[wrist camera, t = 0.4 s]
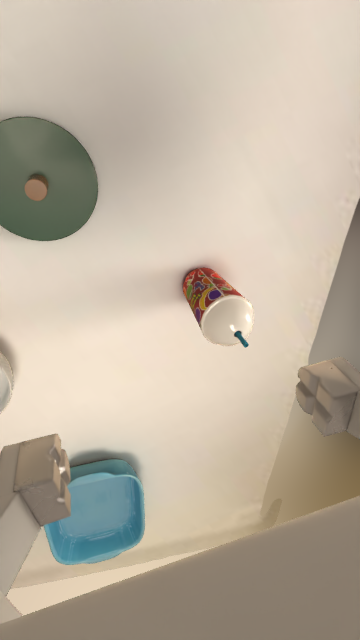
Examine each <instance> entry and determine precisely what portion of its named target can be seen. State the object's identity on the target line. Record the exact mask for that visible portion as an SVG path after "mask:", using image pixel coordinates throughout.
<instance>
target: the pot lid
mask: <svg viewBox="0 0 360 640" xmlns="http://www.w3.org/2000/svg"><path fill="white" fill-rule="evenodd" d="M97 194H98V183H97V176H96V172H95V169H94V166H93V164H92V161H91V159H90V157H89V155H88V154H87V152H86V150H85V149H84V148H83V146H82V145H81V144H80V143H79V142H78V140H77V139H76V138H75V137H73V136H72V135H71V134H70V133H69V132H67V131H66V130H65V129H63V128H62V127H60V126H58V125H56V124H54V123H52V122H49V121H47V120H44V119H40V118H35V117H16V118H10V119H7V120H4V121H2V122H0V225H1V226H2V227H4V228H5V229H7V230H8V231H10V232H12V233H14V234H16V235H18V236H21V237H24V238H27V239H31V240H37V241H52V240H58V239H62V238H64V237H67V236H69V235H71V234H73V233H75V232H76V231H77V230H79V229H80V228H81V227H82V226H83V225H84V224H85V223H86V222H87V221H88V219H89V218H90V216H91V214H92V212H93V210H94V208H95V204H96V201H97Z"/></svg>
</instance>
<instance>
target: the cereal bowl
mask: <svg viewBox="0 0 360 640" xmlns="http://www.w3.org/2000/svg"><path fill="white" fill-rule="evenodd" d="M13 382H14V381H13V373H12V369H11V367H10V364H9V362H8V360H7V359H6V358H5V356H4V355H3V354H2V353H1V352H0V414H1V413H2V412H3V411H4V410H5V408H6V407H7V405H8V403H9V401H10V399H11V395H12V390H13Z"/></svg>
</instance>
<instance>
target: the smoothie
mask: <svg viewBox="0 0 360 640" xmlns="http://www.w3.org/2000/svg"><path fill="white" fill-rule="evenodd" d="M183 292H184V295H185V297H186V299H187V301H188V303H189V305H190V307H191V309H192V311H193V314H194V316H195V318H196V320H197V322H198V324H199V326H200V328H201V330H202V333H203V336H204V337H205V338H206V339H207V340H208V341H210V342H212V343H214V344H219V345H224V346H232V345H236V344H238V343H242V344H243V346H244V347H248V343H247V342H246V340H245V339H246V338H247V337H248V335H249V334H250V332H251V330H252V327H253V321H254V310H253V306H252V305H251V303H250V302H249V301H248V300H247V299H245V298H244V297H243V296H242V295H241V294H240V293H238V292H237V291H236V290H235V289H234V288H233V287H232V286H231V285H229V284H228V283H227V282H226V281H225V280H224V279H223V278H221V277H220V276H219V275H218V274H217V273H216V272H215V271H213V270H211V269H209V268H199V269H195V270H193V271H191V272H190V273H189V274H188V275H187V277H186V279H185V281H184V284H183Z"/></svg>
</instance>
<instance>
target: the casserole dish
mask: <svg viewBox="0 0 360 640" xmlns="http://www.w3.org/2000/svg"><path fill="white" fill-rule="evenodd" d="M70 480H71V481H70V483H69V484H68V486H67V488H68V490H69V492H70V494H71V516H70V517H67V518H64V519H61V520H58V521H55V522H52V523H50V524H47V525H44V529H45V532H46V535H47V539H48V542H49V546H50V549H51V552H52V554H53V556H54V558H55V559H56V561H58V562H59V563H61V564H65V565H74V564H81V563H88V564H90V563H97V562H101V561H105V560H108V559H111V558H114V557H116V556H118V555H119V554H120V553H122V552H124V551H126V550H129V549H131V548H133V547H134V546H136V545H137V544H138V543H139V542H140V541H141V539H142V537H143V535H144V529H145V512H144V493H143V487H142V484H141V482H140V480H139V478H138V477H137V475H136V473H135V471H134V470H133V468H132V467H131V466H130V465H129V464H128V463H127V462H125V461H123V460H119V459H110V460H103V461H98V462H93V463H90V464H84V465H79V466H75V467H71V468H70Z"/></svg>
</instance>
